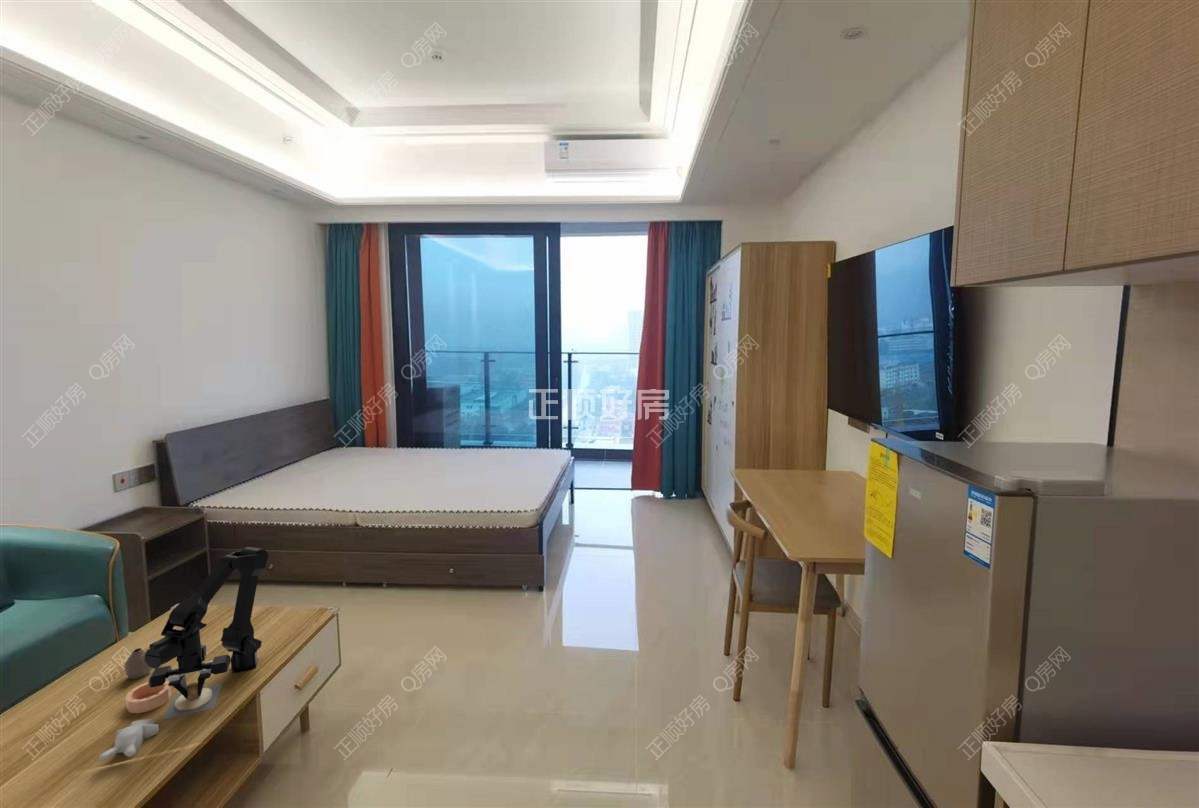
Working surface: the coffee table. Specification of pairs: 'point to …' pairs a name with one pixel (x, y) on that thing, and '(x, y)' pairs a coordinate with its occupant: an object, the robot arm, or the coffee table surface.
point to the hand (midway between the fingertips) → (193, 696)
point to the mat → (210, 705)
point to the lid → (193, 698)
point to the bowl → (147, 697)
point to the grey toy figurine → (131, 738)
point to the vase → (137, 664)
